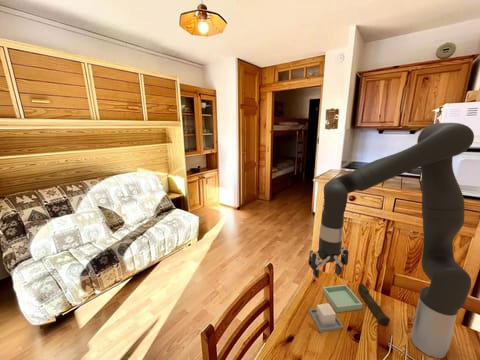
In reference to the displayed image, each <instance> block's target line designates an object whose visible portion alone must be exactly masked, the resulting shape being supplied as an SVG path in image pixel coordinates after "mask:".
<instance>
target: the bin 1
mask: <svg viewBox="0 0 480 360" xmlns="http://www.w3.org/2000/svg"><path fill="white" fill-rule="evenodd" d="M316 311H317V307H316V308H309V309H308V312H309V315H310V316H311V319H312V320H313V322H314V324H315V326H316V327H317V330H318V331H319V333H324V332H325V333H326V332H332V331H339V330H343V329H344V326H343V324H342V322H341V321H340V320H339V318H338V316H337V315H336V318H335V325H328V326H322V325H321V323H320V321H319V319H318V317H317V316H316Z"/></svg>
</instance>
